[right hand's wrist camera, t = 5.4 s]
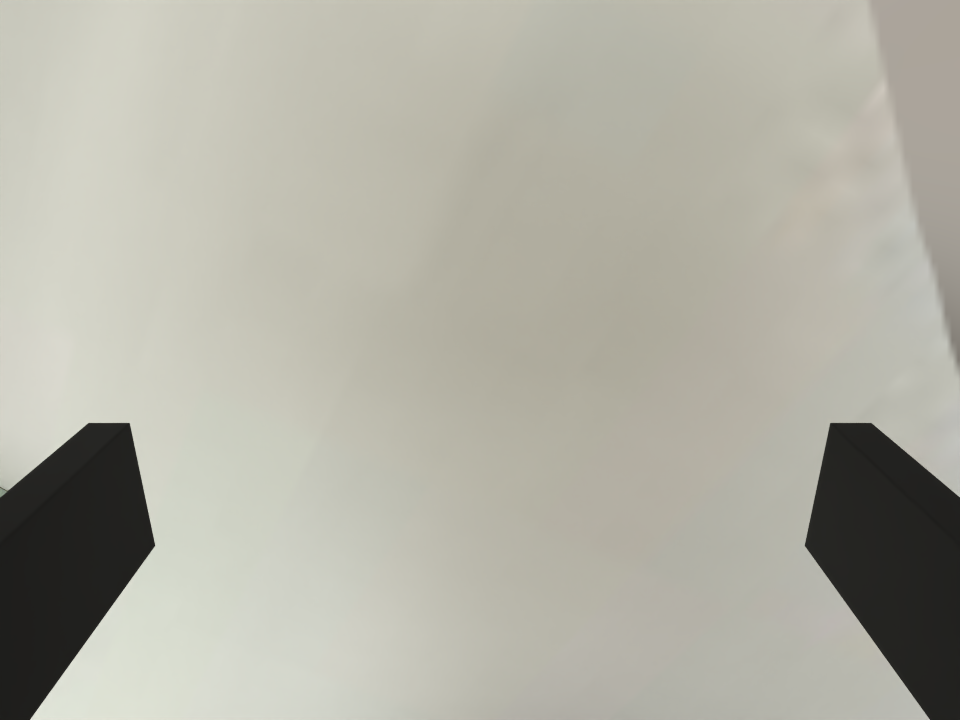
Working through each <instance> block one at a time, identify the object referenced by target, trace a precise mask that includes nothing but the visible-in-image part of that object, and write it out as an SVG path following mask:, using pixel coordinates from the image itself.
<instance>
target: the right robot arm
mask: <svg viewBox="0 0 960 720" xmlns="http://www.w3.org/2000/svg"><path fill="white" fill-rule="evenodd" d="M154 547H155V543H154V538H153V533H152V528H151V523H150V519H149V514H148V509H147V504H146V499H145V495H144V490H143V485H142V480H141V475H140V471H139V466H138V461H137V456H136V451H135V447H134V442H133V437H132V432H131V427H130V423H88V424H87V425H86V426H85V427H84V428H82V429H81V430H80V431H79V432H78V433H76V434H75V435H74V436H73V437H72V438H70V439H69V440H68V441H67V442H66V443H64V444H63V445H62V446H61V447H60V448H59V449H57V450H56V451H55V452H54V453H53V454H51V455H50V456H49V457H48V458H47V459H45V460H44V461H43V462H42V463H41V464H39V465H38V466H37V467H36V468H35V469H34V470H32V471H31V472H30V473H29V474H28V475H26V476H25V477H24V478H23V479H22V480H20V481H19V482H18V483H17V484H16V485H15V486H13V487H12V488H11V489H10V490H9V491H7V492H6V493H5V494H4V495H3V496H1V497H0V720H30V719H31V717H32V716H33V715H34V713H35V712H36V711H37V709H38V708H39V706H40V705H41V704H42V702H43V701H44V699H45V698H46V697H47V695H48V694H49V692H50V691H51V690H52V688H53V687H54V686H55V684H56V683H57V681H58V680H59V679H60V677H61V676H62V674H63V673H64V672H65V670H66V669H67V667H68V666H69V665H70V663H71V662H72V661H73V659H74V658H75V656H76V655H77V654H78V652H79V651H80V649H81V648H82V647H83V645H84V644H85V642H86V641H87V640H88V638H89V637H90V635H91V634H92V633H93V631H94V630H95V629H96V627H97V626H98V624H99V623H100V622H101V620H102V619H103V617H104V616H105V615H106V613H107V612H108V610H109V609H110V608H111V606H112V605H113V604H114V602H115V601H116V599H117V598H118V597H119V595H120V594H121V592H122V591H123V590H124V588H125V587H126V585H127V584H128V583H129V581H130V580H131V579H132V577H133V576H134V574H135V573H136V572H137V570H138V569H139V567H140V566H141V565H142V563H143V562H144V560H145V559H146V558H147V556H148V555H149V553H150V552H151V551H152V549H153V548H154ZM805 547H806V548H807V549H808V551H809V552H810V553H811V555H812V556H813V558H814V559H815V560H816V562H817V563H818V565H819V566H820V567H821V569H822V570H823V572H824V573H825V574H826V576H827V577H828V579H829V580H830V581H831V583H832V584H833V585H834V587H835V588H836V590H837V591H838V592H839V594H840V595H841V597H842V598H843V599H844V601H845V602H846V604H847V605H848V606H849V608H850V609H851V610H852V612H853V613H854V615H855V616H856V617H857V619H858V620H859V622H860V623H861V624H862V626H863V627H864V629H865V630H866V631H867V633H868V634H869V635H870V637H871V638H872V640H873V641H874V642H875V644H876V645H877V647H878V648H879V649H880V651H881V652H882V654H883V655H884V656H885V658H886V659H887V661H888V662H889V663H890V665H891V666H892V667H893V669H894V670H895V672H896V673H897V674H898V676H899V677H900V679H901V680H902V681H903V683H904V684H905V686H906V687H907V688H908V690H909V691H910V692H911V694H912V695H913V697H914V698H915V699H916V701H917V702H918V704H919V705H920V706H921V708H922V709H923V711H924V712H925V713H926V715H927V716H928V717H929V719H930V720H960V497H959V496H957V495H956V494H955V493H954V492H953V491H951V490H950V489H949V488H948V487H947V486H945V485H944V484H943V483H942V482H941V481H940V480H938V479H937V478H936V477H935V476H934V475H932V474H931V473H930V472H929V471H928V470H926V469H925V468H924V467H923V466H922V465H921V464H919V463H918V462H917V461H916V460H915V459H913V458H912V457H911V456H910V455H909V454H907V453H906V452H905V451H904V450H903V449H901V448H900V447H899V446H898V445H897V444H896V443H894V442H893V441H892V440H891V439H890V438H888V437H887V436H886V435H885V434H884V433H882V432H881V431H880V430H879V429H878V428H876V427H875V426H874V425H873V424H872V423H830V427H829V432H828V437H827V442H826V447H825V451H824V456H823V461H822V466H821V471H820V475H819V480H818V485H817V490H816V495H815V499H814V504H813V509H812V514H811V519H810V523H809V528H808V533H807V538H806V543H805Z"/></svg>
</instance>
